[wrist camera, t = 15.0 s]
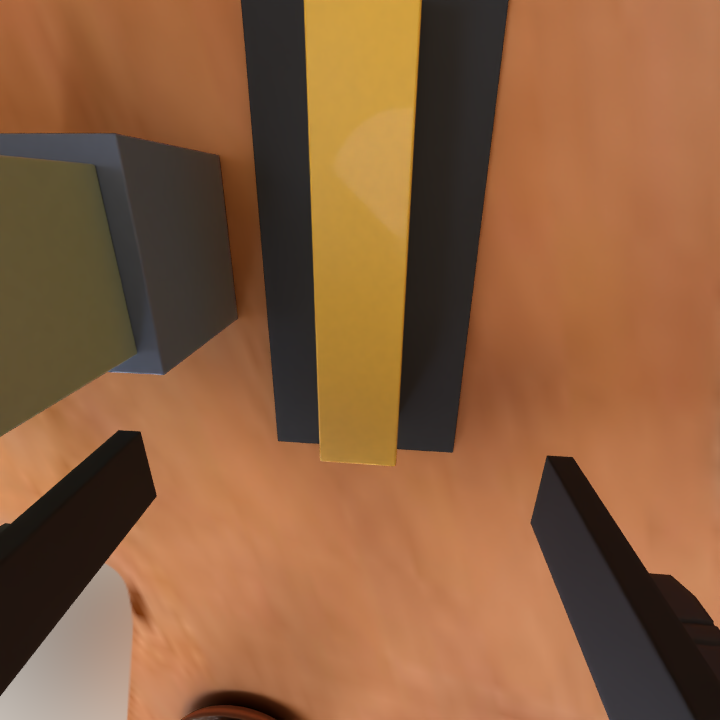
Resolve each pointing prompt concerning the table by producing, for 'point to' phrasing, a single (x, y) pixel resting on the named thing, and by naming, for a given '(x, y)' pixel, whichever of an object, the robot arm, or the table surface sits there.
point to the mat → (427, 210)
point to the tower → (105, 262)
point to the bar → (360, 214)
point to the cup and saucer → (227, 713)
